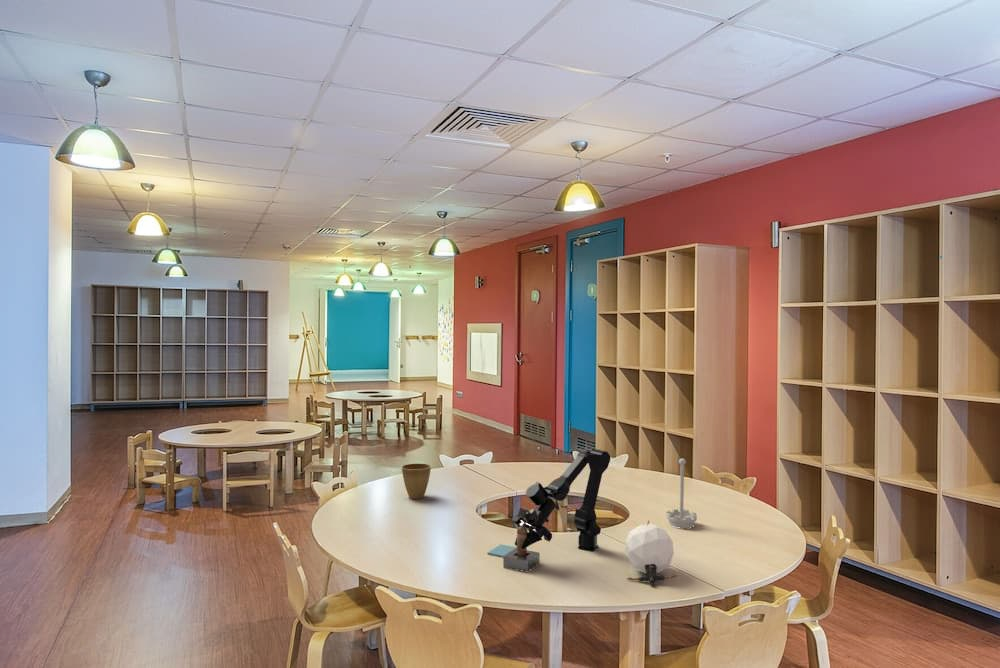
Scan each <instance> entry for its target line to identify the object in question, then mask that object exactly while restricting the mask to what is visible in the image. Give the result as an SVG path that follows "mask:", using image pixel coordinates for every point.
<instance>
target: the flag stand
mask: <svg viewBox="0 0 1000 668" xmlns="http://www.w3.org/2000/svg"><path fill="white" fill-rule="evenodd" d="M686 461H687V460H686V459H685V458H680V459H678V463H679V465H680V467H679V468H680V471H679V472H680V473H679V474H680V475H679V476H680V477H679V481H680V483H679V485H680V486H679V509H678V508H673V509H668V510H666V519H667V520H668V525H669V524H670V525H671V526H670V525H669V526H670V527H672V526H675V527H680V528H690V527H693V526H694V527H695V523H696V522H697V520H698V519H697V513H696V512H695V511H691V512H690V510H689V509H685V508H684V488H685V487H684V485H685V482H684V481H685V475H684V474H685V465H686V463H687V462H686ZM675 527H674V528H675ZM694 527H693V528H694ZM680 528H679V529H680ZM690 529H691V528H690Z"/></svg>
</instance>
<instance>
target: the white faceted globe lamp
mask: <svg viewBox="0 0 1000 668" xmlns="http://www.w3.org/2000/svg"><path fill="white" fill-rule="evenodd" d="M673 544H674V543H673V540H672V538H671V536H670V535H669V534H668V532H667V531H666V529H664V528H662V527H660V526H658V525H656V524H654V523H650V520H647V524H640V525H639V526H637V527H635V528H633V529H632V530H630V531H629V533H628V535H627V539H626V540H625V555H626V556H625V557H626V558H627V560H628V561H629V562H630V564H631V565H632V567H633V569H636V570H637V571H639V572H641V573H643V574H645V576H639V577H635V578H633V577H632V576H631V575H630V576H628V577H626V580H627V579H629V580H628V581H637V580H638V581H639V582H641V581H642V582H646V583H647V582H648V583H649V585H650V586H651V585H654V586H655V582H658V581H662V582H663V581H665V580H667V579H673V578H677V577H678V575H675V573H673V574H671V575H670V576H667V575H658V574H659V573H661V572H662V571H664V570H665V569H668V568H669V567H670V566H671V562H672V559H673V556H674V553H675V552H674V545H673Z"/></svg>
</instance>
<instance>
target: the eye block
mask: <svg viewBox="0 0 1000 668" xmlns="http://www.w3.org/2000/svg"><path fill="white" fill-rule="evenodd" d="M540 555H541V554H540V552H539V551H533V550H528V549H527V556H526V557H525V558H524V557H519V556H517V548H515V549H513V550H512V551H510V552H509V553H508V554H506V555H505V556H503V557H502V558H503V564H502V565H503V568H506V567H507V569H510V568H512V570H515V569H518V570H517V571H520V570H523V571H522V572H524V571H529V570H530V569H531V570H532V568H533V567H534V566H535V567H536V565H537V564H538V565H539V564H540ZM538 565H537V566H538ZM535 567H534V568H535ZM534 568H533V569H534ZM531 570H530V571H531ZM530 571H529V572H530Z"/></svg>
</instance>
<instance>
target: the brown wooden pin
mask: <svg viewBox="0 0 1000 668" xmlns="http://www.w3.org/2000/svg"><path fill="white" fill-rule="evenodd" d="M527 532H528V531H527V529H526V528H525V527H524V526H520V527H518V526H517V529H516V538H517V546H516V547H517V556H519V557H524V558H525V557H526V556H527V550H528V549H527V548H528V547H526V548H524V549H522V548H521V546H522V544H523V543H524V541H525V539H526V538H527Z"/></svg>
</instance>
